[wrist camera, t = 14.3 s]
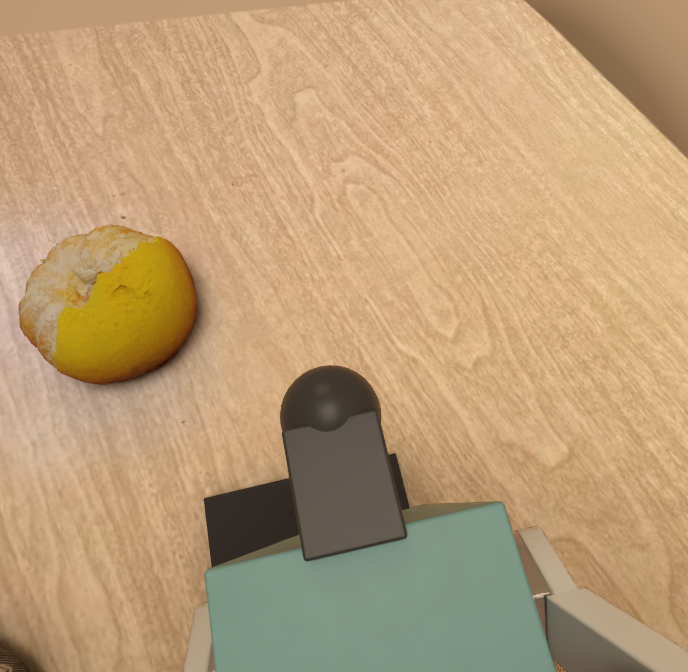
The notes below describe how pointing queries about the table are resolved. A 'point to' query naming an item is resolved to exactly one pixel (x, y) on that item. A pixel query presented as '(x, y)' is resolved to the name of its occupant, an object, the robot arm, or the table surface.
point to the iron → (371, 562)
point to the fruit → (109, 305)
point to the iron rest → (260, 517)
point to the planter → (10, 662)
